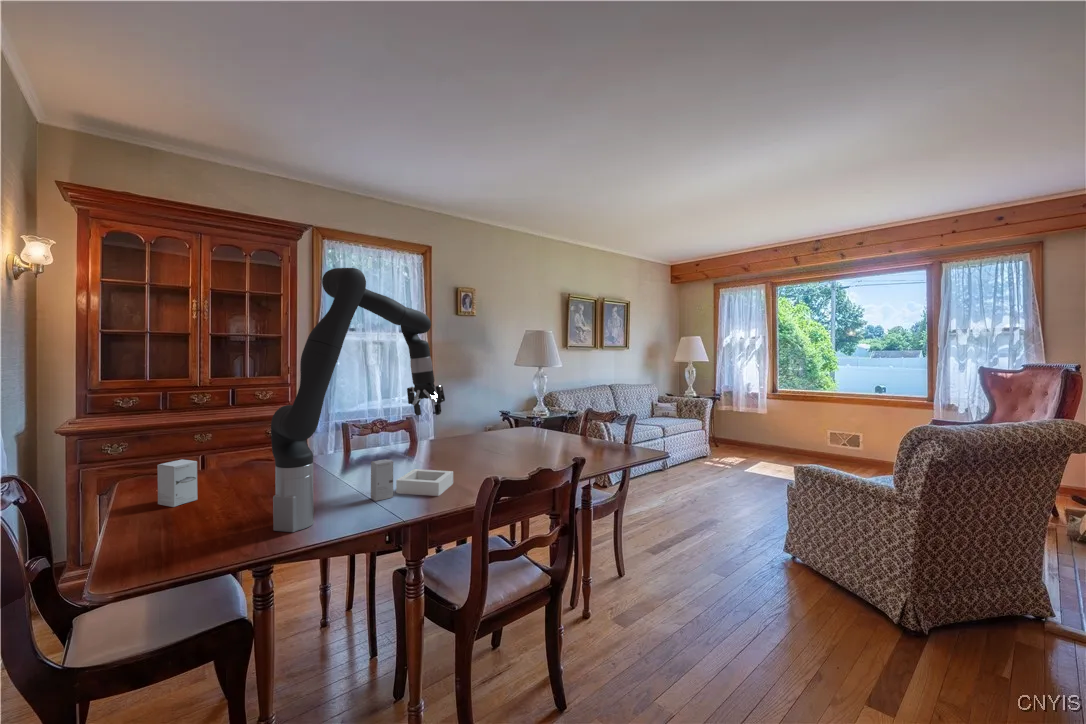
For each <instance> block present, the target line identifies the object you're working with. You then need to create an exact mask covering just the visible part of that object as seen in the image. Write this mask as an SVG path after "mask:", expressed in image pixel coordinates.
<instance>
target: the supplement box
mask: <svg viewBox="0 0 1086 724" xmlns="http://www.w3.org/2000/svg"><path fill="white" fill-rule="evenodd" d="M194 501H198V461H197V460H190V459H179V460H172V461H168V462H163V463H160V464H157V505H160V506H166V507H171V508H175V507H179V506H180V505H183V504H188V503H191V502H194Z"/></svg>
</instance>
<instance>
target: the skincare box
mask: <svg viewBox="0 0 1086 724" xmlns="http://www.w3.org/2000/svg"><path fill="white" fill-rule="evenodd" d="M392 498H394V461H393V460H391V459H389V458H385V459H378V460H372V461H370V499H372V500H373V501H375V502H377V501H382V500H386V499H392Z"/></svg>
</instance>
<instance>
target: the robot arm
mask: <svg viewBox="0 0 1086 724" xmlns="http://www.w3.org/2000/svg"><path fill="white" fill-rule="evenodd" d="M321 284H322V288H323V290H324V292H325V293H326V294H327V295H328V296H330V297H331V298H333V302H332V304H331V305H330V308H329V309H328V311H327V312H326V314H325V315H324V316H323V317H322V318H321V319H320V321H319V322H318V323H317V324H316V325H315V326H314V328H312V330H311V331H310V333H309V335H308V337H307V339H306V341H305V345H304V347H303V350H302V353H301V357H300V364H299V367H300V368H299V370H300V371H299V372H300V380H299V381H300V382H299V387H298V391H297V394H296V396H295V399H294V401H293V403H292V404H286V405H283V406H280V407H279V408H278V409H277V410H276V411H275V412H274V413H273V415H272V417H271V421H270V422H271V423H270V438H271V451H272V456H273V459H274V467H275V471H274V473H275V478H274V479H275V483H274V485H275V495H273V497H272V502H273V503H272V505H273V506H272V507H273V508H272V510H273V511H272V516H273V518H272V521H273V529H272V530H273V531H274V532H285V533H296V532H297V531H300V530H304V529H307V528H309V527H311V526H312V525H314V524H315V523H314V521H315V520H314V509H315V508H314V453H313V451H312V449H310V447H309V445H308V441H307V440H308V439H309V438H311V437H312V436H313V435H315V432H316V431H317V429H318V425H319V422H320V418H321V415H322V411H323V410H322V408H323V405H324V402H325V397H326V393H327V390H328V388H329V385H330V383H331V379H332V377H333V373H334V371H335V367H336V365H337V363H338V360H339V358H340V354H341V351H342V348H343V345H344V342H345V340H346V337H347V334H348V331H349V328H350V325H351V323H352V320H353V319H354V318H353V317H354V315H355V313H356V311H357V309H358V308H363V309H364V310H366V311H368V312H370V313H373V314H374V315H376V316H379V317H380V318H382V319H384V320H386V321H388V322H390V323H392V324H394V325H396V326H400V331H401V333H402V335H403V338H404V340H405V343H406V344H407V347H408V352H409V359H410V361H409V362H410V363H409V364H410V371H411V380H412V384H413V385H414V386H410V387H407V388H406V391H407V392H406V394H407V395H406V396H407V403H408V405H412V406H413V410H414V414H415V416H417V417H418V416H421V415H422V412H421V411H422V409H421V404H420V403H421V401H422V400H424V399H429V400H430V401H432V403H433V404H434V405H433V406H434V413H435V415H436V416H439V415H441V413H442V407H441V406H442V405H441V404H442V403H443V402H445V401H446V397H445V392H444V388H443V385H442V384H439V385H435V375H434V368H433V361H432V358H431V353H430V352H431V350H430V344H429V342H428V341H426V340H424V339H421V338H420V336H419V335H421V334H425V333H427V332H429V331H430V329H431V326H432V321H431V319H430V318H429V316H428V315H427V314H426V313H424V312H422V311H420V310H417V309H414V308H410V307H408V306H405V305H404V304H402V303H400V302H398V300H397V301H396V300H395V299H393V298H390V296H387V295H385V294H382V293H381V294H380V293H378V292H375V291H373V290H370V289H367V279H366V276H365V274H364V273H363V271H362V270H360V269H358V268H355V267H336V268H331V269H329V270H327V271H326V272H324V274H323V276H322V280H321Z"/></svg>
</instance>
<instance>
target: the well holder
mask: <svg viewBox="0 0 1086 724" xmlns="http://www.w3.org/2000/svg"><path fill="white" fill-rule="evenodd" d="M395 483H396V487H395V491H396V493H395V494H401V495H414V496H415V495H417V496H418V495H419V496H432V497H440V496H441V495H442V494H443V493H444V492H446V491H447V490H448V489H449V488H450V487H452V486H453V484H454V471H453V470H435V469H421V468H420V469H416V468H414V469H412V470H411V471H409V472H407V473H406V474H405V473H404V475H402V476H401V477H399V478H397V479H396V482H395Z"/></svg>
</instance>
